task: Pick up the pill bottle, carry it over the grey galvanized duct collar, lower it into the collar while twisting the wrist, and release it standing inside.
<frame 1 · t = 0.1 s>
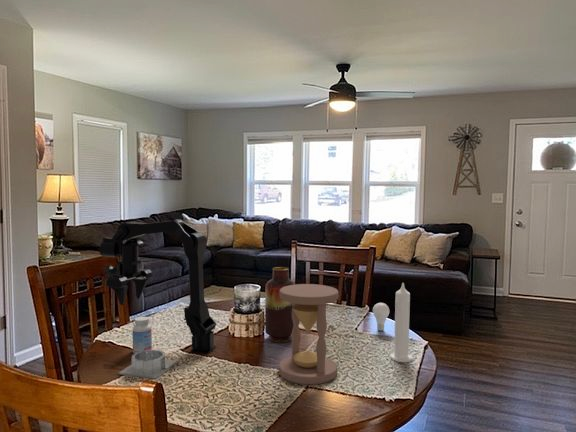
hand: (130, 301, 157), 15 cm above the table, fingers open, 9 cm apart
hourglass: (307, 372, 134), on the table
vase: (280, 339, 163), on the table
pill bottle: (142, 352, 149), on the table
candle: (401, 359, 145), on the table
lightbulb: (380, 331, 173), on the table
duct collar: (148, 368, 135), on the table
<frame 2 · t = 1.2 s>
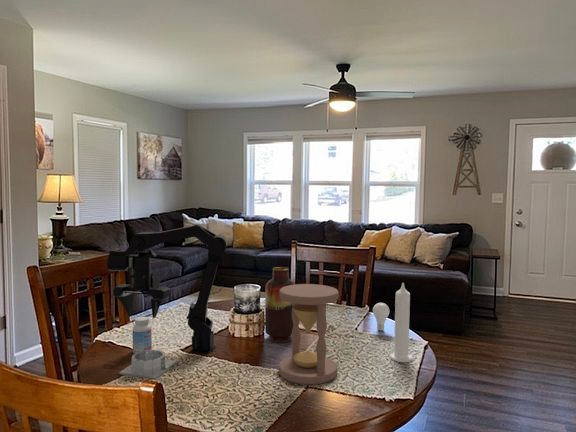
hand: (142, 316, 148), 12 cm above the table, fingers open, 9 cm apart
nothing on the table moved.
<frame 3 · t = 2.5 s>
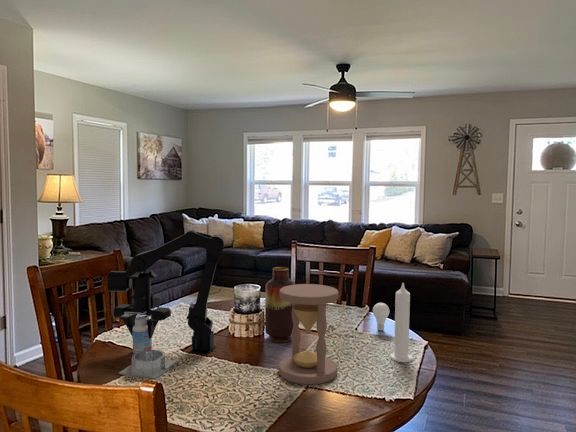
hand: (142, 337, 149), 5 cm above the table, fingers closed on pill bottle, 6 cm apart
pill bottle: (142, 351, 149), on the table, touching gripper
everything else where it was.
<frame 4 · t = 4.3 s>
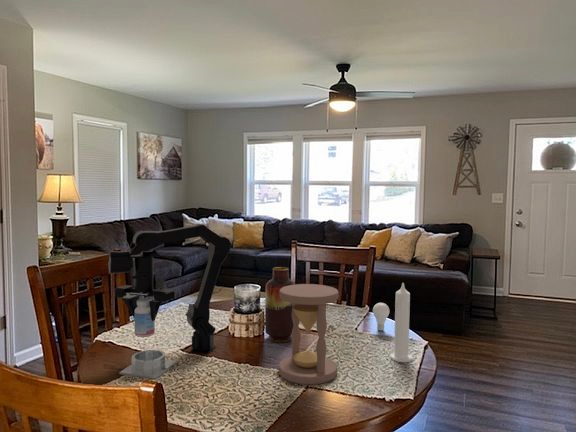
hand: (144, 319, 141), 13 cm above the table, fingers closed on pill bottle, 6 cm apart
pill bottle: (144, 335, 142), point 8 cm above the table, touching gripper
everything else where it was.
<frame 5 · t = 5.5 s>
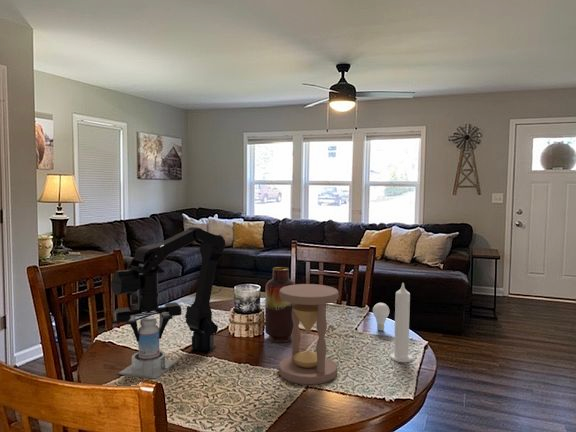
hand: (148, 339, 135), 9 cm above the table, fingers closed on pill bottle, 6 cm apart
pill bottle: (149, 356, 135), point 4 cm above the table, touching gripper
everything else where it was.
when the fingers open (7 cm above the table, at t = 6.3 s): pill bottle drops 1 cm, resting on duct collar.
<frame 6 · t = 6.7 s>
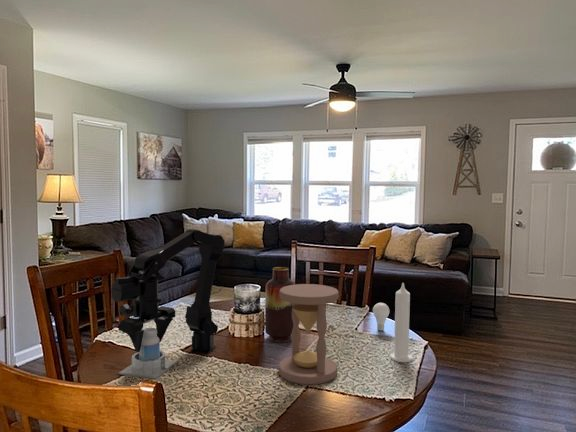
hand: (148, 346, 135), 7 cm above the table, fingers open, 9 cm apart
pill bottle: (149, 367, 135), resting on duct collar
everything else where it was.
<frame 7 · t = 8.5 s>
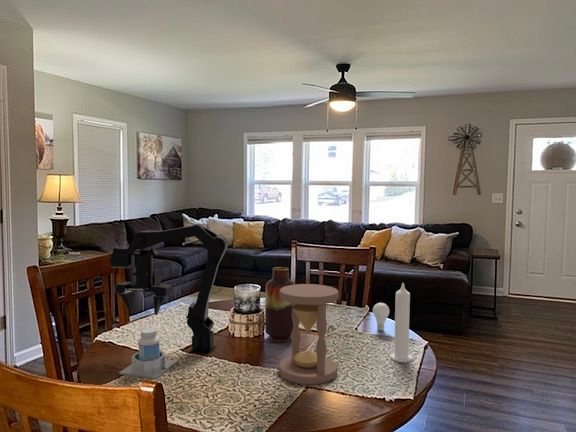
hand: (143, 313, 151), 12 cm above the table, fingers open, 9 cm apart
nothing on the table moved.
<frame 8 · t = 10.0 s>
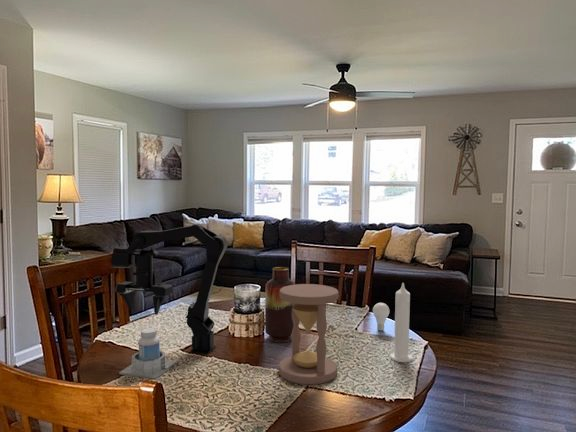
hand: (144, 313, 152), 12 cm above the table, fingers open, 9 cm apart
nothing on the table moved.
at the end: pill bottle 0.1 cm off-centre on the duct collar, point 0.4 cm above the duct collar's base; pill bottle tilted 0°; the gripper is holding nothing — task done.
